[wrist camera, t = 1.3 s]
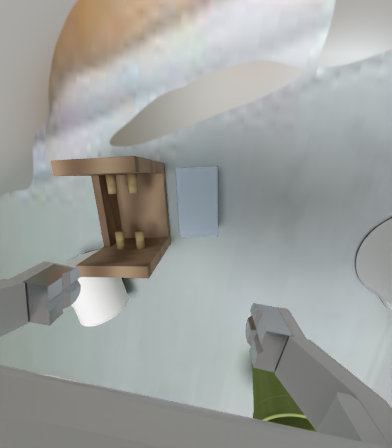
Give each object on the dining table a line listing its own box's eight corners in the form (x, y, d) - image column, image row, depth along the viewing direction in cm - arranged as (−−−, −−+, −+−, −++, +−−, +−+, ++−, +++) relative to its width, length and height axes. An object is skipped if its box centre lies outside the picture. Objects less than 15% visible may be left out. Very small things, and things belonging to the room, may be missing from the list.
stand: (163, 163, 28) (133, 156, 18) (170, 243, 32) (148, 278, 21) (109, 166, 29) (50, 160, 19) (121, 244, 33) (77, 276, 22)
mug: (119, 245, 33) (91, 266, 25) (136, 291, 35) (114, 324, 28) (63, 255, 35) (20, 278, 27) (82, 299, 37) (47, 332, 29)
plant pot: (275, 331, 34) (303, 403, 24) (312, 369, 36) (355, 453, 25) (227, 360, 37) (233, 435, 26) (264, 394, 39) (284, 478, 28)
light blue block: (216, 167, 28) (217, 165, 23) (217, 226, 30) (218, 236, 26) (181, 169, 28) (175, 167, 24) (185, 226, 31) (179, 236, 26)
